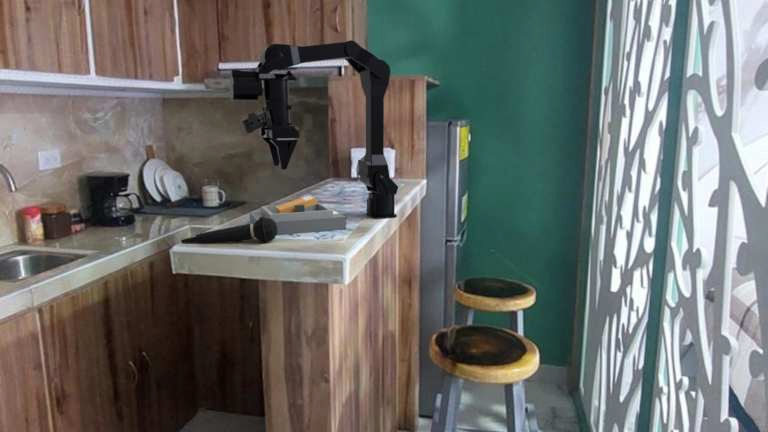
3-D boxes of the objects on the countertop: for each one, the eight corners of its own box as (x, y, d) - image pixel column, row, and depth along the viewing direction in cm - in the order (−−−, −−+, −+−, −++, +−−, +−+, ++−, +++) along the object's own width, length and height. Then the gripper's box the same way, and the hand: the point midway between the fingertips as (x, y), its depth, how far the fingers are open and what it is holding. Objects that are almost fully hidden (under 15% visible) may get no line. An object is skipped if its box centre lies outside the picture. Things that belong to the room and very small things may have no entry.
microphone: (182, 259, 108) (279, 246, 109) (174, 236, 105) (274, 222, 106) (188, 245, 112) (280, 232, 114) (180, 223, 110) (275, 210, 111)
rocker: (312, 200, 128) (310, 194, 127) (317, 203, 123) (315, 197, 123) (277, 212, 125) (275, 206, 124) (281, 215, 120) (279, 209, 120)
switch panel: (328, 218, 135) (328, 196, 134) (345, 229, 122) (345, 205, 121) (250, 224, 127) (248, 200, 126) (259, 236, 115) (258, 210, 113)
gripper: (236, 101, 127) (240, 165, 130) (247, 100, 110) (251, 173, 113) (281, 101, 131) (284, 163, 134) (298, 100, 114) (301, 170, 118)
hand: (279, 167), depth 125 cm, fingers open, 9 cm apart
